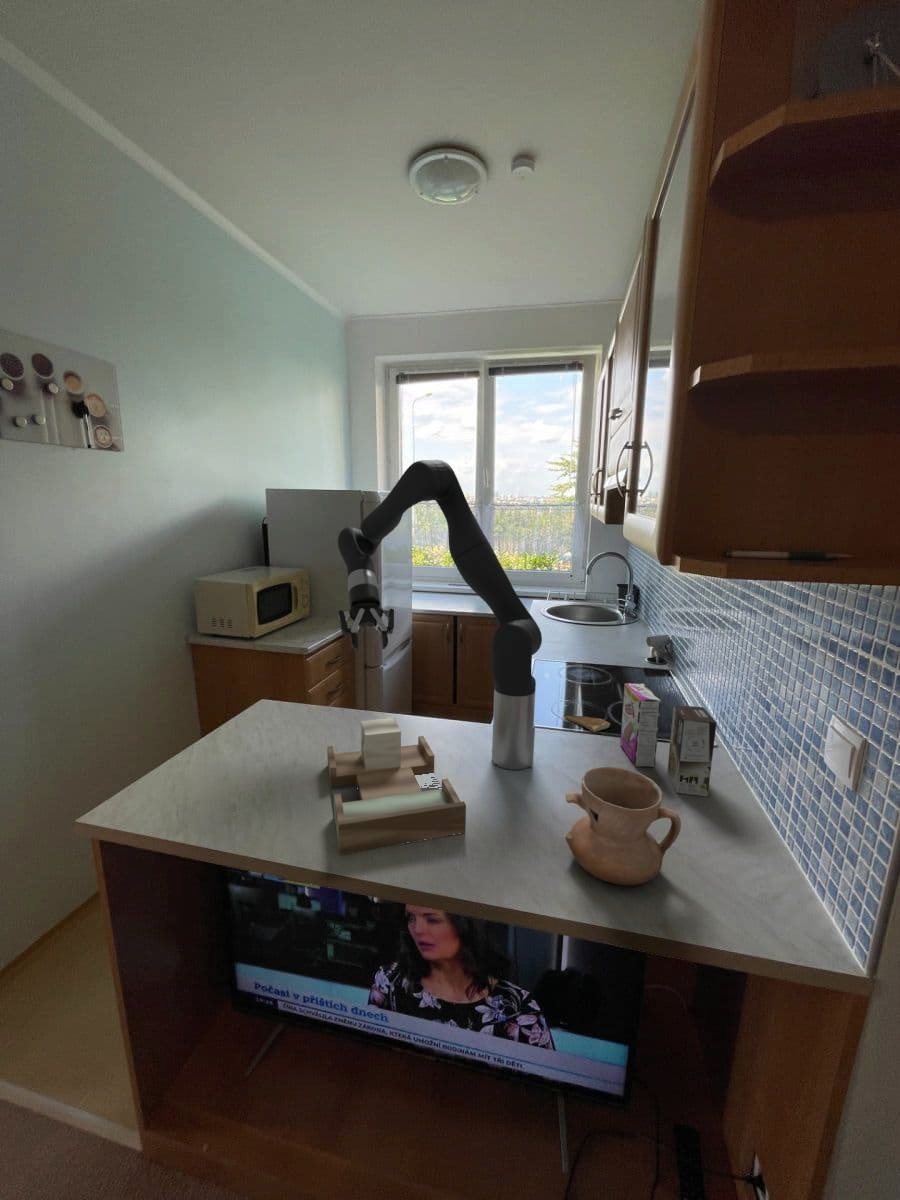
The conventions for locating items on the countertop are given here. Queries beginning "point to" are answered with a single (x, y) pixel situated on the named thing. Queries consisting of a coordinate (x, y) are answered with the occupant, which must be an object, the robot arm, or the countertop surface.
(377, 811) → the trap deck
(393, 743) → the block
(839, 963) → the countertop surface
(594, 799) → the ceramic jug
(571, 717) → the shard
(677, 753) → the coffee box
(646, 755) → the candy bar box
